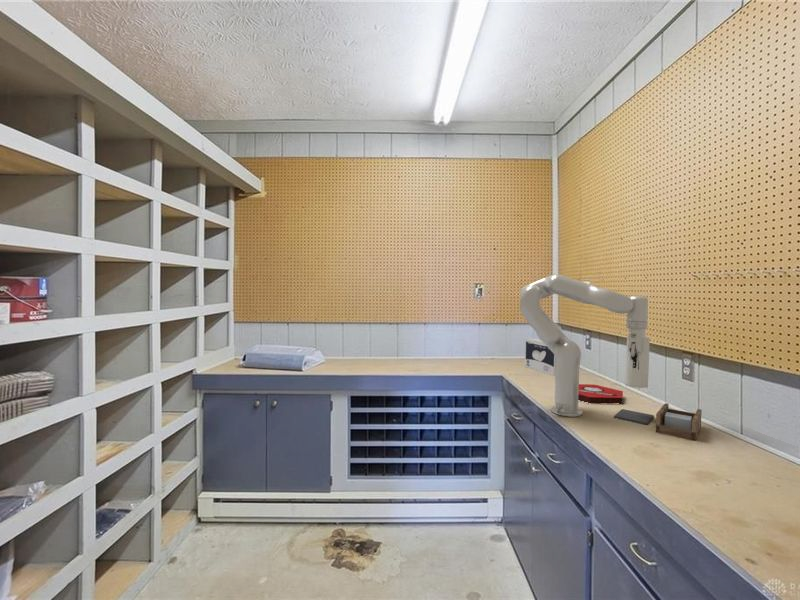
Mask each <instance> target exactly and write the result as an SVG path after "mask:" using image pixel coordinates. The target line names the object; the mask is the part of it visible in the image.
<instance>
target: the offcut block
mask: <svg viewBox="0 0 800 600" xmlns="http://www.w3.org/2000/svg"><path fill="white" fill-rule="evenodd" d="M665 425H666V426H671V427H675V428H680V429H685V430H690V431H691V430H692V416H686V415H681V414H675V413H669V412H666V414H665Z"/></svg>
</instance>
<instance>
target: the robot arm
mask: <svg viewBox="0 0 800 600" xmlns="http://www.w3.org/2000/svg"><path fill="white" fill-rule="evenodd" d="M552 295H557V296H560V297H564V298H567V299H569V300H573V301H576V302H578V303H582V304H587V305H592V306H597V307H600V308H603V309H607V310H608V311H609V312H611V313H614V314H623V315H624V314H626V325H625V326H626V329H627V330H628V335H627V336H628V351H629V352H630V348H631V356H630V360H633V362H635V363H633V365H635V366H633V368H636V364H637V361H638V353H639V352H640V353H643V346H644V345H643V341H644V338H647V337H646V330H648V316H649V314H648V313H649V312H648V311H649V299H648V297H647V296H644V295H632V296H628V295H625V294H621V293H619V292H616V291H612V290H609V289H606V288H602V287H599V286H596V285H593V284H590V283H586V282H583V281H581V280H577V279H574V278H571V277H569V276H565V275H561V274H558V273H557V274H551V275H548V276H546V277H544V278H541V279H540V280H537V281H535V282H532V283H530V284H527V285H525V286H523V287H522V288H521V289H520V291H519V297H520V300H519V308H520V309H519V310H520V313H521V315H522V317H523V318H524V320H525V321H526V322H527V323H528V324H529V326H530V327H531V328H532V329H533V330H534V331H535V332H536V336H537V337H538V338H539V340H541V341H542V342H543V343H544V344H545V345H546V346H547V347H548V348H549V349H550V350H551V351H552V352H553V353H554V354H555V355H556V356H557V360H556V369H555V376H554V378H555V379H554V405H553V406H551V407H550V411H551V413H553V414H555V415H559V416H561V417H562V416H564V417H571V418H572V417H573V418H575V417H580V416H583V410H581V409H580V408H579V401H578V398H579V384H580V365H581V359H582V351H581V347H580V346H579V345H578V344H577V343H576V342H575V341H573V340H571V339H570V338H569V337H567V336H566V335H565V333H564V332H563V331H562V329H561V327H560V326H559V325H558V324H557V323H556V322H555V321H554V320H553V319H552V318H551V316H549V315H548V314H547V312H545V310H544V309H543V307H542V306H541V300H543V299H545V298H548V297H550V296H552ZM635 351H637V353H635ZM636 354H637V355H636ZM638 370H639V361H638Z"/></svg>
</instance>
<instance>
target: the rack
mask: <svg viewBox="0 0 800 600" xmlns="http://www.w3.org/2000/svg"><path fill="white" fill-rule="evenodd" d="M666 412H669V413H675V414H681V415H686V416H692V428H691V431H690V430H685V429H680V428H675V427H671V426H666V425H665V414H666ZM701 428H702V408H701V409H700V408H697V410H696V411H695V413H694V412H689V411H684V410H679V409H674V408H669V403H668V402H666V403H664V404H663V405H662V406H661V407H660V409H659V410H658V411H657V412H656V413H655V433H656V434H662V435H666V436H667V435H668V436H670V437H675V438H680V439H685V440H690V441H695V442H696V440H697V438H698V435H699V433H700V431H701Z"/></svg>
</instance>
